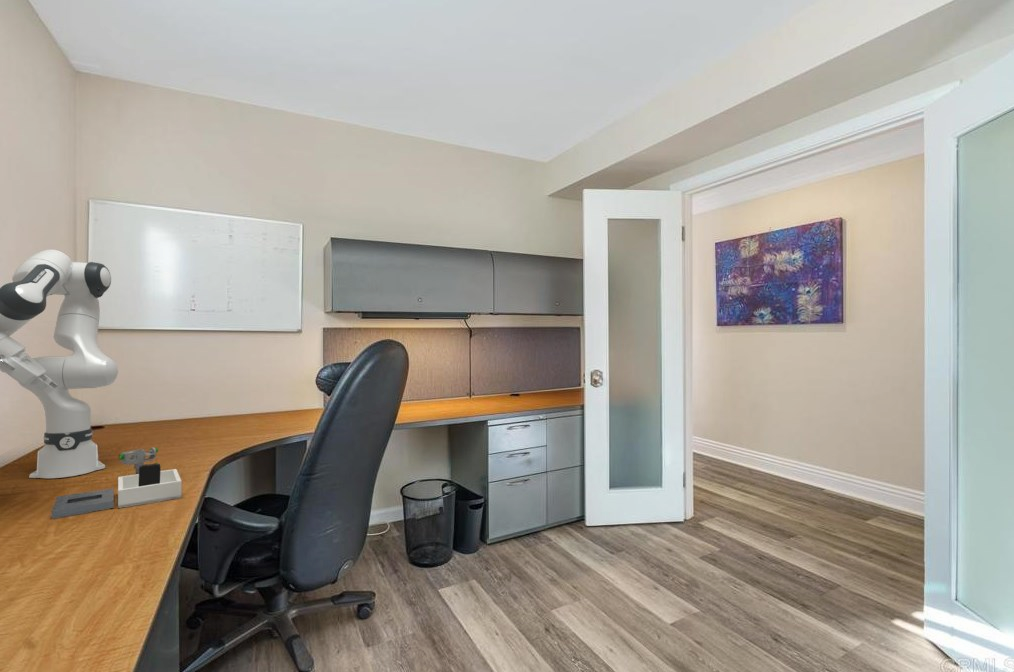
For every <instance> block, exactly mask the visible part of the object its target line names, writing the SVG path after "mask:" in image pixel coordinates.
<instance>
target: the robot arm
mask: <svg viewBox="0 0 1014 672" xmlns="http://www.w3.org/2000/svg"><path fill="white" fill-rule="evenodd" d="M111 284H112V276H111V272H110V269H108V268H107V266H105V264H103V263H100V262H93V261H89V262H82V261H72V259H71V258H70V256H68V255H67V254H66V253H64V252H62V251H60V250H57V249H45V250H41V251H39V252H36V253H34V254H33V255H31V256H30V257H28V258H27V259H25V260H24V261H23V262H22V263H21V264H20V265H19V266H18V267H17V268H16V270H15V271H14V273H13V275H12V282H9V283H5V284H3V285H2V286H0V372H2V373H5V374H7V375H8V376H9V377H11V378H12V379H13V380H15V381H16V382H17V383H18V384H19V385H20V386H21V387H22V388H23V389H26V390H28V391H29V392H31V393H32V394H33V395H34V396H35V397H37V398H38V400H39V401H40V402H41V404H42V407H43V409H44V414H45V415H44V416H45V432H44V434H43V435H44V436H43V444H44V446H42V447H41V448H40V449H39V450H38V451H37V459H36V470H35V471H33V472H31V473H30V474H29V477H28V478H29V479H36V478H37V479H39V478H40V479H59V478H69V477H75V476H79V475H84V474H88V473H92V472H94V471H99V470H104V469H105V468H106V465H105V464H104V463H102V462H101V461H100V460H99V457H100V455H99V454H98V445H97V443H95V442H94V441H93V440H92V439H93V428H92V427H91V413H92V411H91V406H90V405H89V404H88V403H87V402H85V401H84V400H81V399H78V398H75V397H73V396H72V395H71V394H70V392H69V390H77V389H78V390H79V389H81V390H82V389H95V388H96V389H97V388H101V387H102V388H103V387H106V386H107V387H108V386H110V385H112V384H113V383H114V382H115V380H116V379H117V378H118V373H119V369H118V365H117V363H116V362H115V361H114V359H112V358H110V357H109V356H107V355H106V354H105V353H104V352H103V350H101V349H100V347H99V345H98V331H99V325H100V313H101V312H100V308H101V307H100V301H99V299H98V298H101V297H102V296H103V295H104V294H105V292H107V291H108V290H109V288H110V287H111ZM53 295H58V296H64V299H63V301H62V303H61V304H60V308H59V311H58V314H57V319H56V322H55V327H54V333H53V340H54V342H55V343H56V344H57V345H58V346H60V347H61V348H64V349H65V350H69V351H72V355H65V356H63V355H62V356H49V355H48V356H39V357H31V356H30V355H29V354H27V353H26V347H25V346H24V345H23V344H21V343H20V342H19V341H17V340H15V339H14V338H13V337H11V336H12V335H14V334H15V333H16V332H17V331H19V329H22V327H23V326H25V325H26V324H28V323H29V322H30V321H31V320H32V319H34V318H36V317H37V316H38V315H40V314H42V313H43V312H44V311H45V310H46V308H47V297H49V296H53Z"/></svg>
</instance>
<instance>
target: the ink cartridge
mask: <svg viewBox="0 0 1014 672" xmlns="http://www.w3.org/2000/svg"><path fill="white" fill-rule="evenodd" d="M160 471H162V469H161V464H160V463H157V462H156V463H148V464H145V463H144V465H142V466H139V487H140V486H146V485H153V484H159V483H160Z"/></svg>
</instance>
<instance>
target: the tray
mask: <svg viewBox="0 0 1014 672" xmlns="http://www.w3.org/2000/svg"><path fill="white" fill-rule="evenodd" d="M117 477H118V478H117V481H118V483H117V484H118V487H117V488H118V489H117V493H118V494H117V509H118V508H120V509H123V508H122V507H126V508H130V507H129V506H131V507H137V506H142V505H147V504H149V505H150V504H155V503H159V502H166V501H172V500H177V499H182V478H181V476H180V474H179V472H178V470H177V468H174V469H166V470H160V483H159V484H153V485H146V486H140V487H139V474H136V473H135V474H130V475H124V476H123V475H122V476H117ZM136 505H137V506H136Z"/></svg>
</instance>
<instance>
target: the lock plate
mask: <svg viewBox="0 0 1014 672" xmlns="http://www.w3.org/2000/svg"><path fill="white" fill-rule="evenodd" d="M114 495H115V488H114V487H112V488H105V489H98V490H91V491H84V492H80V493H79V492H78V493H71V494H66V495H58V496H56V499H55V501H54V504H53V507H52V509H51V520H54V519H60V518H66V517H72V516H78V515H83V514H89V513H88V512H90V513H93V512H92V511H96V512H99V511H98V510H102V511H105V510H104V509H108V510H110V509H109V508H113V509H114V504H115V503H114V501H115V500H114V497H115V496H114Z"/></svg>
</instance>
